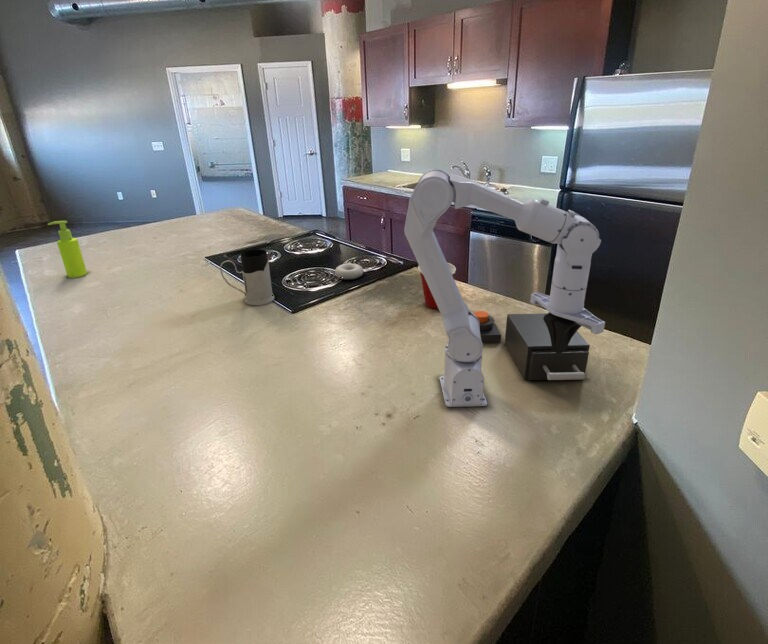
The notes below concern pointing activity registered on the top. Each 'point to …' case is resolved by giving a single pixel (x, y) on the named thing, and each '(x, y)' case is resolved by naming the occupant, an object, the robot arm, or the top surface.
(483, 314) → the button
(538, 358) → the drawer
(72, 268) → the soap dispenser
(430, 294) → the plastic cup
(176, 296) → the top surface
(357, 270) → the donut
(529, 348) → the grey drawer box
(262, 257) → the silver mug
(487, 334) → the control block
